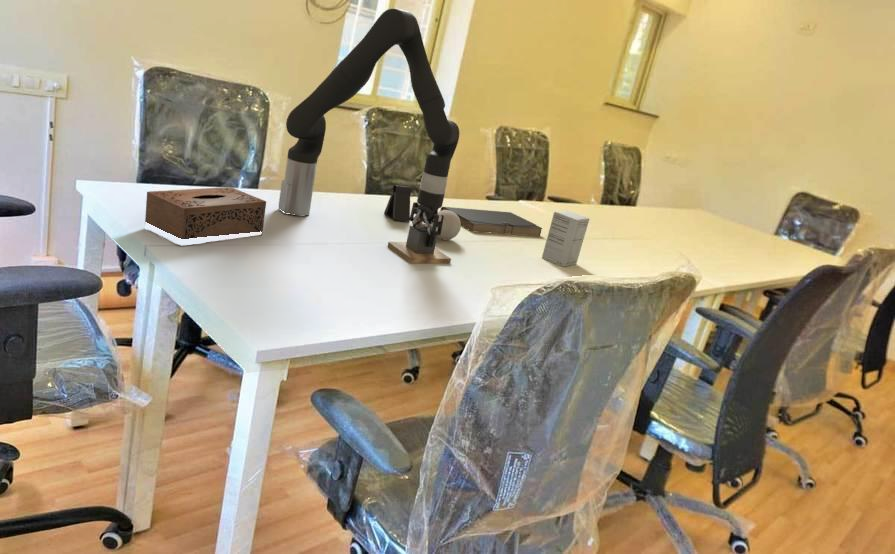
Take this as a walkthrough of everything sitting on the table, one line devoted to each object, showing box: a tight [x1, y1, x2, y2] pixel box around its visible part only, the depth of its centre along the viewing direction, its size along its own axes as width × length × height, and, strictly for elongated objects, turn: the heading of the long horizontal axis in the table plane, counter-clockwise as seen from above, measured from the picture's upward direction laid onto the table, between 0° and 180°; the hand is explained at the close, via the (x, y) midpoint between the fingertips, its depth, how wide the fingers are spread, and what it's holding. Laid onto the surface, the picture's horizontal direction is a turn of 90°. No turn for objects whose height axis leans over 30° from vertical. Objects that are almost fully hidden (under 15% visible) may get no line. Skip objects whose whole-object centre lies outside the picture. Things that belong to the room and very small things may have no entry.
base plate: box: [387, 241, 452, 264], centre depth 189 cm, size 14×14×2 cm
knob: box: [406, 222, 438, 254], centre depth 188 cm, size 6×6×8 cm
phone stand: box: [383, 184, 412, 223], centre depth 224 cm, size 9×6×12 cm, turn 31°
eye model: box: [432, 210, 462, 241], centre depth 211 cm, size 10×10×10 cm
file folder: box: [439, 206, 543, 237], centre depth 248 cm, size 33×4×24 cm
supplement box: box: [541, 210, 590, 268], centre depth 215 cm, size 10×9×17 cm
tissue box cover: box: [144, 186, 267, 239], centre depth 166 cm, size 26×14×10 cm, turn 149°
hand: (421, 242), depth 188 cm, fingers open, 8 cm apart
